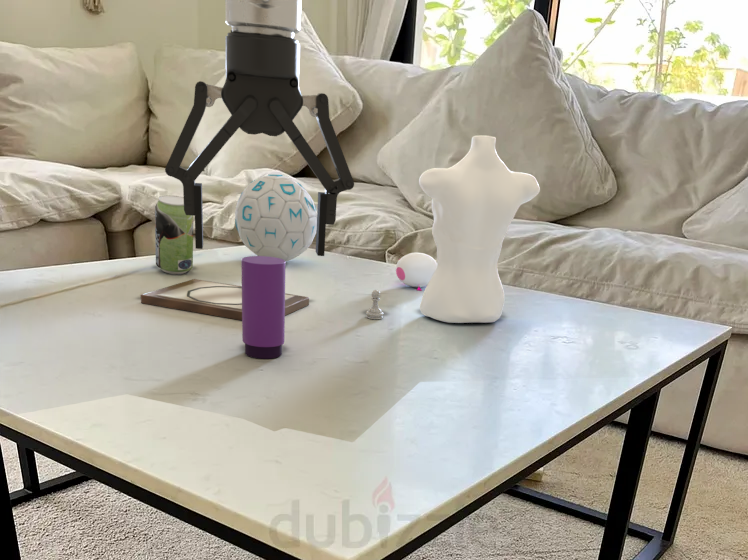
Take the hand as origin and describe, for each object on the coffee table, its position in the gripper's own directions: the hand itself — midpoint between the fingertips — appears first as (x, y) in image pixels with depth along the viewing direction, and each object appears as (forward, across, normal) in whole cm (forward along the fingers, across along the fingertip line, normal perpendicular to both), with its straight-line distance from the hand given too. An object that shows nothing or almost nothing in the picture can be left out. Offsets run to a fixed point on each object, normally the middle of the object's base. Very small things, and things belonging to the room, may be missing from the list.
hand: (260, 250), depth 89 cm
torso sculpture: (+12, +31, +20) cm, 39 cm away
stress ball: (+12, +28, +42) cm, 52 cm away
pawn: (+12, +17, +19) cm, 28 cm away
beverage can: (+13, -12, +45) cm, 49 cm away
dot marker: (+12, 0, 0) cm, 12 cm away
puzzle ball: (+12, +5, +60) cm, 61 cm away
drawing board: (+12, -4, +24) cm, 27 cm away
